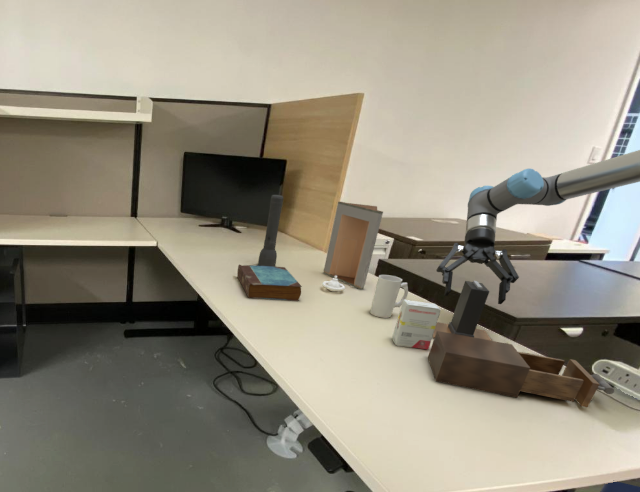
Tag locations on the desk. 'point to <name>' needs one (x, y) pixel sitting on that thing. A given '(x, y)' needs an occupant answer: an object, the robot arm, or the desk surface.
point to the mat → (444, 328)
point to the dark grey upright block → (468, 309)
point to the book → (268, 282)
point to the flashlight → (271, 233)
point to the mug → (387, 295)
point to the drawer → (561, 380)
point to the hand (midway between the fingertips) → (474, 297)
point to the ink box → (416, 324)
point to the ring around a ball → (333, 285)
